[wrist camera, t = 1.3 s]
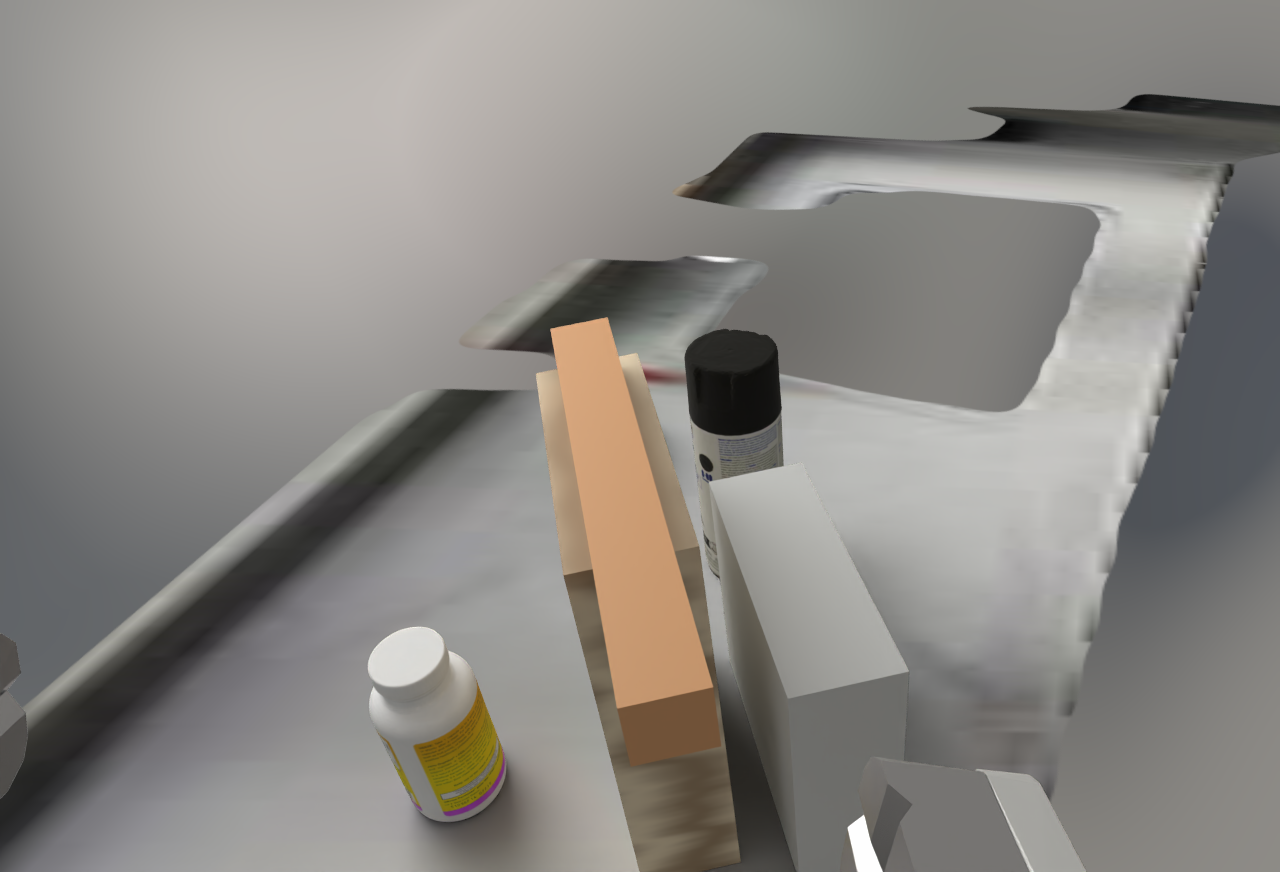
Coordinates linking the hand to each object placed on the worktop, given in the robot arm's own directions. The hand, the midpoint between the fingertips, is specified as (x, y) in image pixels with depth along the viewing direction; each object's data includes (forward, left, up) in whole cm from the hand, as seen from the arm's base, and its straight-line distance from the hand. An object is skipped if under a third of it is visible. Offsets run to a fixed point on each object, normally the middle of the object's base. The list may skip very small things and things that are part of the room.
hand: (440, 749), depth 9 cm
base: (+12, +30, -46) cm, 56 cm away
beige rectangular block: (+3, +32, -46) cm, 56 cm away
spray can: (+13, +48, -47) cm, 68 cm away
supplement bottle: (-11, +33, -47) cm, 58 cm away
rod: (+3, +26, -20) cm, 33 cm away
